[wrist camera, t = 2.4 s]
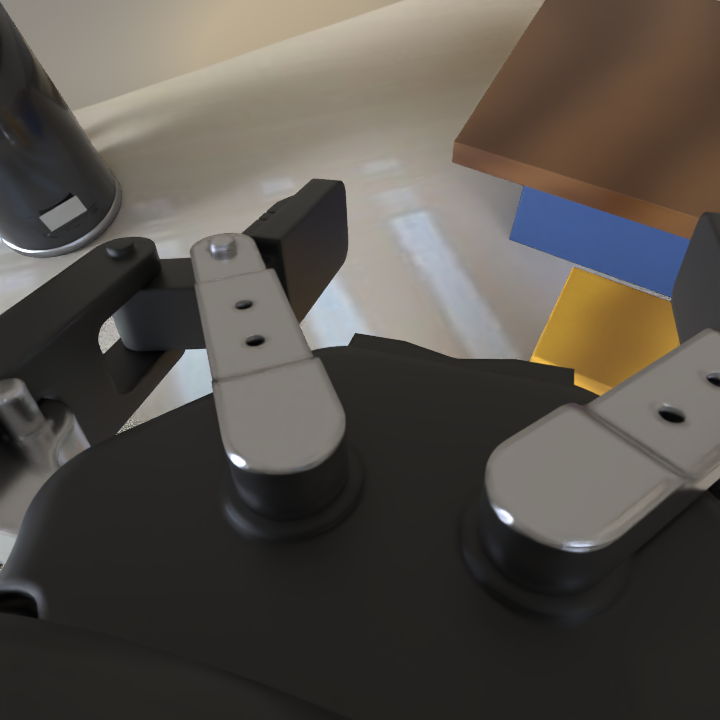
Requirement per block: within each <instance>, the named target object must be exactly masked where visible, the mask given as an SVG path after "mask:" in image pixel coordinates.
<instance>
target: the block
mask: <svg viewBox="0 0 720 720" xmlns="http://www.w3.org/2000/svg"><path fill="white" fill-rule="evenodd" d="M679 344H680V342H679V337H678V333H677V329H676V324H675V320H674V315H673V311H672V306H671V302H670V301H667V300H665V299H662V298H659V297H656V296H653V295H651V294H648V293H645V292H642V291H640V290H637V289H634V288H631V287H628V286H626V285H623V284H620V283H617V282H615V281H612V280H609V279H606V278H603V277H601V276H598V275H595V274H592V273H590V272H587V271H584V270H581V269H579V268H576V267H574V268H572V270H571V272H570V275H569V277H568V279H567V281H566V283H565V285H564V287H563V289H562V292H561V294H560V296H559V298H558V300H557V302H556V304H555V306H554V309H553V311H552V313H551V315H550V317H549V319H548V321H547V323H546V326H545V328H544V330H543V332H542V334H541V336H540V338H539V340H538V343H537V345H536V347H535V349H534V351H533V353H532V355H531V357H530V360H529V362H535V363H541V364H547V365H553V366H559V367H565V368H572V369H575V371H574V385H577V386H579V387H582V388H584V389H587V390H589V391H591V392H594V393H596V394H598V395H599V396H601V395H603V394H604V393H606V392H607V391H609V390H610V389H612V388H614V387H615V386H617V385H618V384H620V383H621V382H623V381H625V380H626V379H628V378H629V377H631V376H632V375H634V374H635V373H637V372H639V371H640V370H642V369H643V368H645V367H646V366H648V365H650V364H651V363H653V362H654V361H656V360H657V359H659V358H661V357H662V356H664V355H665V354H667V353H668V352H670V351H672V350H673V349H675V348H676V347H678V346H679Z"/></svg>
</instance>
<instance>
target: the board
mask: <svg viewBox="0 0 720 720" xmlns="http://www.w3.org/2000/svg"><path fill="white" fill-rule="evenodd" d="M452 162H453V163H456V164H459V165H462V166H465V167H469V168H472V169H475V170H478V171H481V172H484V173H487V174H490V175H493V176H496V177H499V178H502V179H505V180H508V181H511V182H515V183H518V184H521V185H524V186H527V187H530V188H533V189H536V190H539V191H542V192H545V193H548V194H551V195H554V196H557V197H561V198H564V199H567V200H570V201H573V202H576V203H579V204H582V205H585V206H588V207H591V208H594V209H597V210H600V211H604V212H607V213H610V214H613V215H616V216H619V217H622V218H625V219H628V220H631V221H634V222H637V223H640V224H643V225H646V226H650V227H653V228H656V229H659V230H662V231H665V232H668V233H671V234H674V235H677V236H680V237H683V238H686V239H689V240H691V237H692V235H693V232H694V229H695V227H696V224H697V222H698V220H699V218H700V217H701V215H702V214H703V213H704V212H715V213H720V1H718V0H545V1H544V3H543V4H542V6H541V8H540V9H539V11H538V12H537V14H536V15H535V17H534V18H533V20H532V22H531V23H530V25H529V26H528V28H527V29H526V31H525V32H524V34H523V36H522V37H521V39H520V40H519V42H518V43H517V45H516V46H515V48H514V50H513V51H512V53H511V54H510V56H509V57H508V59H507V60H506V62H505V64H504V65H503V67H502V68H501V70H500V71H499V73H498V74H497V76H496V78H495V79H494V81H493V82H492V84H491V85H490V87H489V88H488V90H487V92H486V93H485V95H484V96H483V98H482V99H481V101H480V102H479V104H478V106H477V107H476V109H475V110H474V112H473V113H472V115H471V116H470V118H469V120H468V121H467V123H466V124H465V126H464V127H463V129H462V131H461V132H460V134H459V135H458V137H457V138H456V140H455V141H454V149H453V159H452Z"/></svg>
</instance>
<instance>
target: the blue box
mask: <svg viewBox="0 0 720 720" xmlns="http://www.w3.org/2000/svg"><path fill="white" fill-rule="evenodd" d="M510 240H512V241H515V242H518V243H521V244H524V245H526V246H529V247H532V248H535V249H538V250H540V251H543V252H546V253H549V254H552V255H554V256H557V257H560V258H563V259H566V260H568V261H571V262H574V263H577V264H579V265H582V266H585V267H588V268H591V269H593V270H596V271H599V272H602V273H605V274H607V275H610V276H613V277H616V278H619V279H621V280H624V281H627V282H630V283H633V284H635V285H638V286H641V287H644V288H647V289H649V290H652V291H655V292H658V293H661V294H663V295H666V296H669V297H672V291H673V287H674V283H675V280H676V277H677V274H678V272H679V269H680V266H681V264H682V261H683V258H684V256H685V253H686V251H687V248H688V245H689V243H690V240H689V239H686V238H683V237H680V236H677V235H674V234H671V233H668V232H665V231H662V230H659V229H656V228H653V227H650V226H646V225H643V224H640V223H637V222H634V221H631V220H628V219H625V218H622V217H619V216H616V215H613V214H610V213H607V212H604V211H600V210H597V209H594V208H591V207H588V206H585V205H582V204H579V203H576V202H573V201H570V200H567V199H564V198H561V197H557V196H554V195H551V194H548V193H545V192H542V191H539V190H536V189H533V188H530V187H527V186H524V187H523V191H522V195H521V198H520V202H519V206H518V209H517V213H516V217H515V220H514V224H513V228H512V231H511V235H510Z"/></svg>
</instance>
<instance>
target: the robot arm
mask: <svg viewBox="0 0 720 720" xmlns="http://www.w3.org/2000/svg"><path fill="white" fill-rule="evenodd" d="M121 196H122V194H121V188H120V185H119V182H118V181H117V179H116V178H115V176H114V174H113V173H112V172H111V170H110V169H109V168H108V167H107V166H106V164H105V163H104V161H103V160H102V158H101V157H100V155H99V154H98V152H97V151H96V149H95V147H94V146H93V144H92V143H91V141H90V139H89V138H88V136H87V135H86V133H85V132H84V130H83V129H82V127H81V125H80V124H79V122H78V121H77V119H76V118H75V116H74V115H73V113H72V112H71V110H70V109H69V107H68V105H67V104H66V103H65V101H64V99H63V98H62V96H61V95H60V93H59V92H58V90H57V89H56V87H55V85H54V84H53V82H52V81H51V79H50V78H49V76H48V75H47V73H46V72H45V70H44V69H43V67H42V65H41V64H40V62H39V61H38V59H37V58H36V57H35V55H34V53H33V52H32V50H31V49H30V47H29V45H28V44H27V42H26V41H25V39H24V38H23V36H22V35H21V33H20V32H19V30H18V29H17V27H16V25H15V24H14V22H13V21H12V19H11V18H10V16H9V15H8V13H7V12H6V10H5V9H4V7H3V5H2V4H1V2H0V238H1V239H2V240H3V241H4V242H5V243H6V244H7V245H8V246H9V247H10V248H11V249H13V250H14V251H16V252H18V253H20V254H22V255H25V256H29V257H38V258H46V257H54V256H60V255H63V254H67V253H70V252H72V251H75V250H77V249H79V248H81V247H83V246H85V245H87V244H88V243H90V242H91V241H93V240H94V239H96V238H97V237H98V236H99V235H101V234H102V233H103V232H104V231H105V230H106V229H107V228H108V226H109V225H110V224H111V223H112V221H113V220H114V218H115V216H116V215H117V213H118V210H119V208H120V204H121ZM347 251H348V226H347V208H346V191H345V186H344V184H343V182H342V181H338V180H326V179H312V180H310V181H309V182H308V183H307V184H306V185H305V186H304V187H303V188H302V189H301V190H299V191H298V192H297V193H296V194H295V195H294V196H291V197H288V198H286V199H284V200H281V201H279V202H277V203H276V204H274V205H273V206H272V207H271V208H270V209H269V210H268V211H267V213H264V214H263V215H262V216H261V217H260V218H259V220H256V221H255V222H254V223H253V224H252V225H251V226H249V227H248V228H247V229H246V230H245V231H244V232H243V233H241V234H238V233H224V234H218V235H213V236H209V237H207V238H204V239H202V240H200V241H198V242H197V243H195V244H194V245H193V246H192V247H191V249H190V255H191V258H177V259H159V256H158V253H157V249H156V246H155V243H154V242H153V241H152V240H150V239H147V238H143V237H126V238H118V239H114V240H112V241H108V242H106V243H103V244H101V245H99V246H97V247H96V248H94V249H93V250H91V251H90V252H89V253H87V254H86V255H84V256H83V257H82V258H80V259H79V260H77V261H76V262H75V263H73V264H72V265H70V266H69V267H68V268H66V269H65V270H63V271H62V272H60V273H59V274H58V275H56V276H55V277H53V278H52V279H51V280H49V281H48V282H46V283H45V284H44V285H42V286H41V287H39V288H38V289H37V290H35V291H34V292H32V293H31V294H29V295H28V296H27V297H25V298H24V299H22V300H21V301H20V302H18V303H17V304H15V305H14V306H13V307H11V308H10V309H8V310H7V311H6V312H4V313H3V314H1V315H0V567H1V566H2V565H4V567H3V569H2V570H1V572H0V720H720V213H715V212H704V213H703V214H702V215H701V217H700V218H699V220H698V222H697V224H696V227H695V229H694V232H693V235H692V237H691V240H690V243H689V245H688V248H687V251H686V253H685V256H684V258H683V261H682V264H681V266H680V269H679V272H678V274H677V277H676V280H675V283H674V287H673V291H672V298H671V306H672V311H673V315H674V320H675V324H676V329H677V333H678V337H679V342H680V345H679V346H678V347H676V348H675V349H673V350H672V351H670V352H668V353H667V354H665V355H664V356H662V357H661V358H659V359H657V360H656V361H654V362H653V363H651V364H650V365H648V366H646V367H645V368H643V369H642V370H640V371H639V372H637V373H635V374H634V375H632V376H631V377H629V378H628V379H626V380H625V381H623V382H621V383H620V384H618V385H617V386H615V387H614V388H612V389H610V390H609V391H607V392H606V393H604V394H603V395H601V396H599V395H598V394H596V393H594V392H591V391H589V390H587V389H584V388H582V387H579V386H577V385H574V371H575V369H572V368H565V367H559V366H553V365H547V364H541V363H535V362H529V361H523V360H517V359H457V358H452V357H449V356H446V355H443V354H440V353H438V352H435V351H432V350H429V349H426V348H423V347H420V346H417V345H414V344H412V343H409V342H406V341H401V340H395V339H388V338H382V337H376V336H370V335H364V334H358V333H355V334H354V336H353V338H352V340H351V341H350V343H349V345H348V346H336V347H327V348H321V349H316V350H312V351H311V350H310V348H309V346H308V343H307V341H306V339H305V337H304V335H303V332H302V330H301V328H300V326H299V324H300V323H301V321H302V320H303V319H304V317H305V316H306V315H307V313H308V312H309V310H310V309H311V308H312V306H313V305H314V304H315V302H316V301H317V299H318V298H319V297H320V295H321V294H322V293H323V291H324V290H325V288H326V287H327V286H328V284H329V283H330V282H331V280H332V279H333V277H334V276H335V275H336V273H337V272H338V271H339V269H340V268H341V266H342V265H343V264H344V262H345V259H346V256H347ZM111 316H113V319H114V321H115V324H116V326H117V329H118V332H119V334H120V337H121V338H120V339H119V340H118V341H117V342H116V343H115V344H114V345H113V346H112V347H111V348H110V349H108V350H107V351H106V352H105V353H104V354H102V351H101V349H100V346H99V342H98V336H99V331H100V328H101V326H102V325H103V323H104V322H105V321H106V320H107V319H109V318H110V317H111ZM185 349H207V354H208V359H209V365H210V370H211V375H212V388H213V392H212V393H210V394H208V395H206V396H203V397H201V398H199V399H197V400H194V401H192V402H190V403H187V404H185V405H183V406H181V407H178V408H176V409H174V410H172V411H169V412H167V413H165V414H163V415H160V416H158V417H156V418H153V419H151V420H149V421H147V422H144V423H142V424H140V425H138V426H135V427H133V428H131V429H129V430H126V431H124V432H122V433H119V434H117V432H118V431H119V430H120V429H121V428H122V426H123V425H124V424H125V423H126V422H127V421H128V419H129V418H130V417H131V416H132V415H133V413H134V412H135V411H136V410H137V409H138V408H139V406H140V405H141V404H142V403H143V402H144V400H145V399H146V398H147V397H148V396H149V395H150V393H151V392H152V391H153V390H154V389H155V387H156V386H157V385H158V384H159V383H160V382H161V380H162V379H163V378H164V377H165V376H166V374H167V373H168V372H169V371H170V370H171V369H172V367H173V366H174V365H175V364H176V363H177V361H178V360H179V359H180V358H181V357H182V355H183V354H184V352H185ZM116 434H117V435H116Z"/></svg>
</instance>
